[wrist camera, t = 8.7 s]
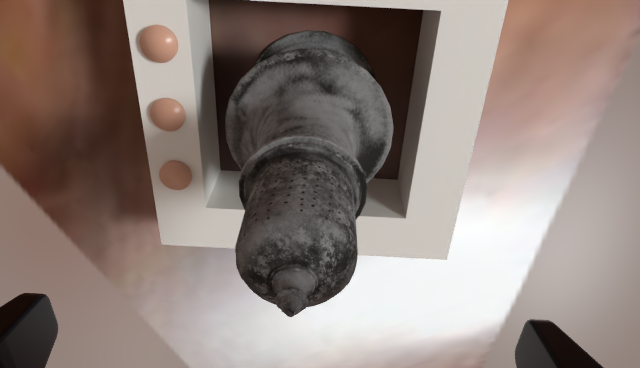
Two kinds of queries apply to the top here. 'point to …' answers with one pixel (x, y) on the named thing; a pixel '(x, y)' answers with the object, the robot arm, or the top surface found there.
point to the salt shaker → (305, 165)
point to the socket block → (382, 194)
